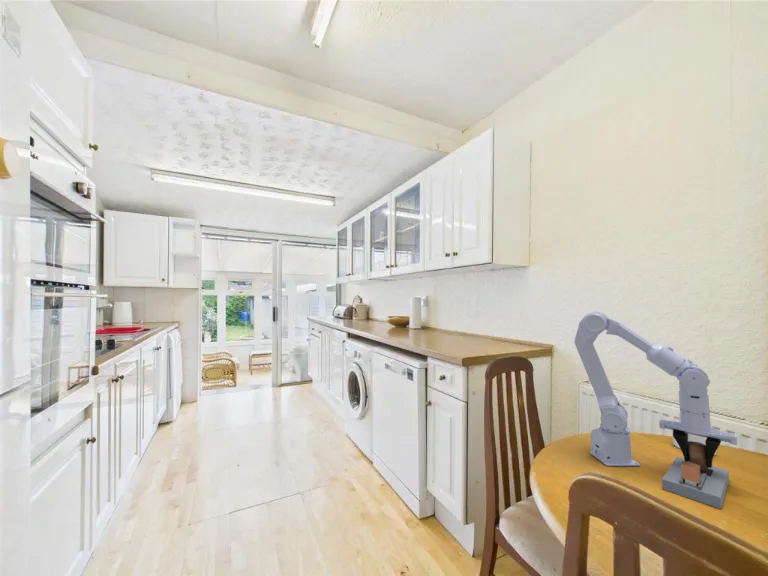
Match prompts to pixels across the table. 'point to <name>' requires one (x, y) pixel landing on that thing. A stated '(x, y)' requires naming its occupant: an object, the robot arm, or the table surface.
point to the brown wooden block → (698, 455)
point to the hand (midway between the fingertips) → (698, 463)
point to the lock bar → (691, 473)
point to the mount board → (706, 491)
